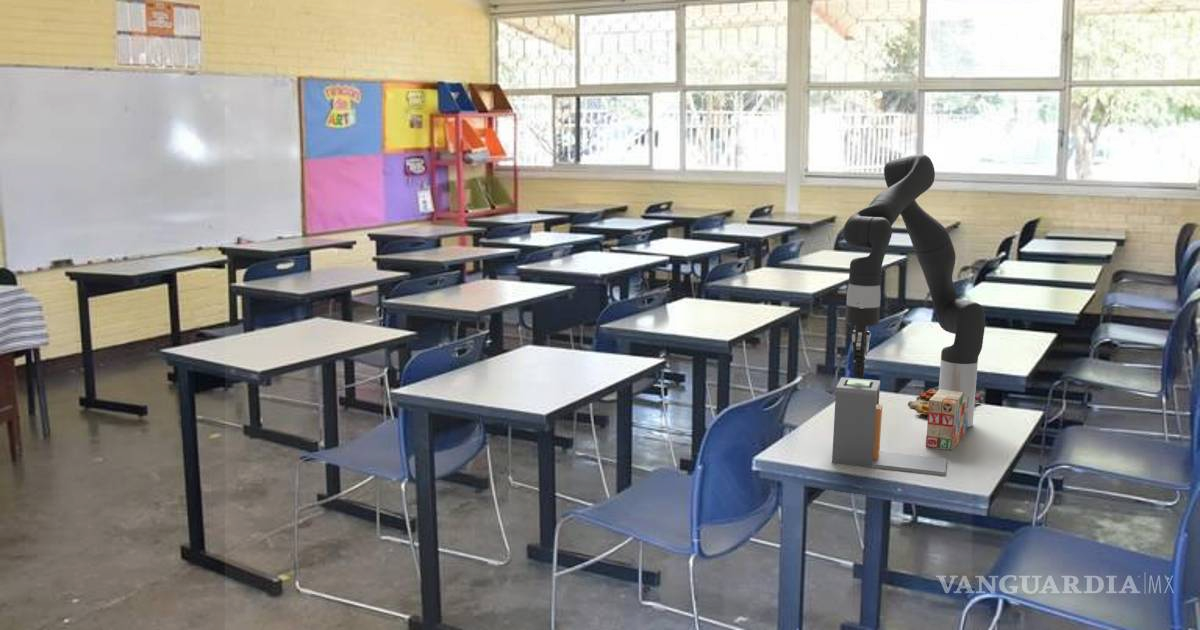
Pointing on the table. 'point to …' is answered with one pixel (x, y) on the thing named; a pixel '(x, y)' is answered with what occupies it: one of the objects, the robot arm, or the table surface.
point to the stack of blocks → (946, 419)
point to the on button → (858, 383)
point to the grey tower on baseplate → (869, 433)
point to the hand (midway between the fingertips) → (858, 377)
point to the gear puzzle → (923, 400)
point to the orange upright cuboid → (877, 431)
